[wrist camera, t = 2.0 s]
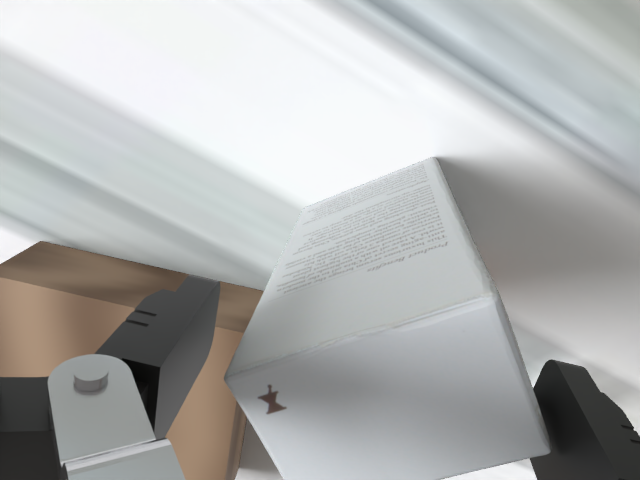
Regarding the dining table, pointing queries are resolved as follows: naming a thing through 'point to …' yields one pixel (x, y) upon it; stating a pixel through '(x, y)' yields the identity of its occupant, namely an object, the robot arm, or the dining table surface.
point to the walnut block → (99, 324)
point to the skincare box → (385, 344)
